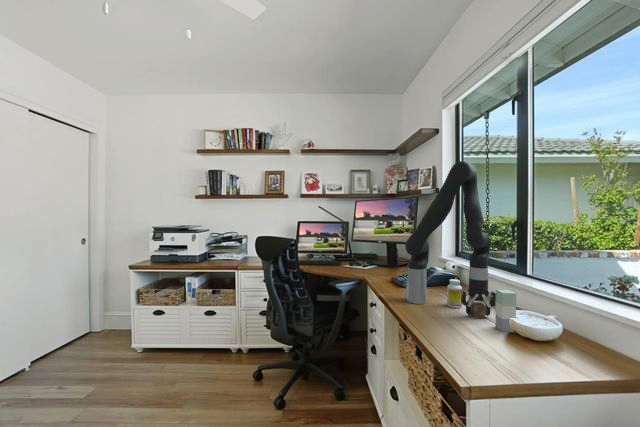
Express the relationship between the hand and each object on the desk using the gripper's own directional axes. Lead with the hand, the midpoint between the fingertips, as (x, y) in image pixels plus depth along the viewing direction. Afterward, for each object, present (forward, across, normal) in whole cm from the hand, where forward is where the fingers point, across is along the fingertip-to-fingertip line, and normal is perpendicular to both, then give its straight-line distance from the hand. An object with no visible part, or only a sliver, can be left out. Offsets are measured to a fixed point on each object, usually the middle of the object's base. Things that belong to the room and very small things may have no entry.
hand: (477, 314), depth 128 cm
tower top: (-9, -5, +13) cm, 17 cm away
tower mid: (-4, -5, +13) cm, 14 cm away
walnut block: (+1, 0, 0) cm, 1 cm away
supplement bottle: (+1, +5, -14) cm, 15 cm away
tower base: (+1, -5, +13) cm, 14 cm away
